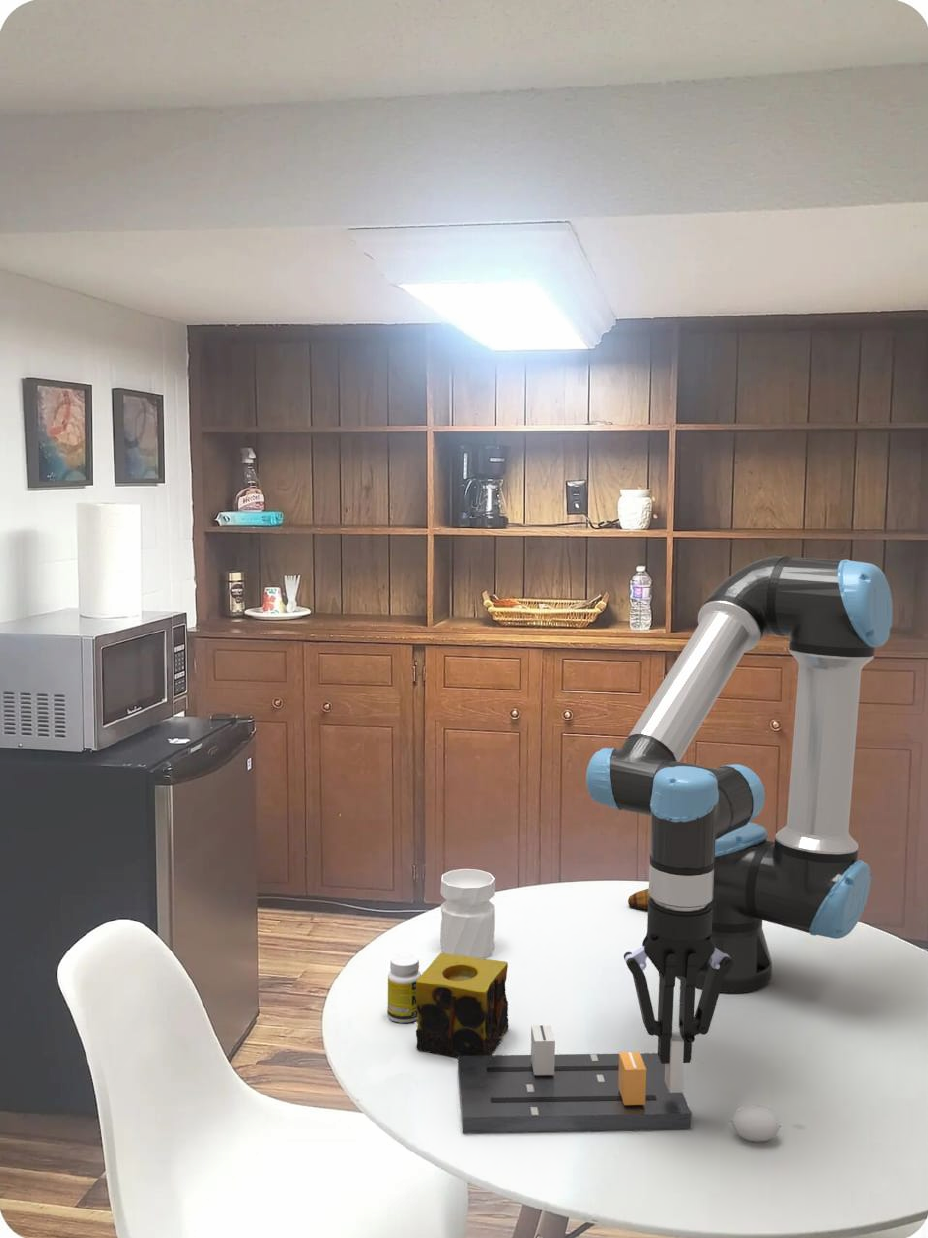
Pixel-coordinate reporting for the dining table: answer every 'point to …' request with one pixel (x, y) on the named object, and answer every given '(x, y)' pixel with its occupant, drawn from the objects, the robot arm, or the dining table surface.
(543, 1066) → the fader
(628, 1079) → the fader
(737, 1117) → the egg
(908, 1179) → the dining table surface
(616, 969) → the dining table surface
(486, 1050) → the candle
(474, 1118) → the console
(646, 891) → the croissant
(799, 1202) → the dining table surface
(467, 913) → the vase
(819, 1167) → the dining table surface
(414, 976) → the supplement bottle
